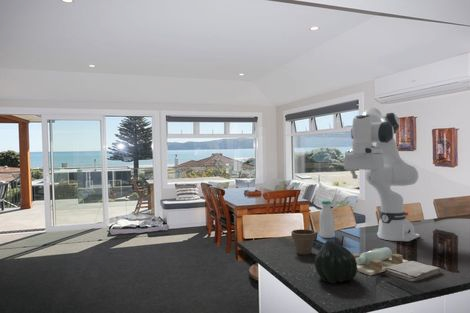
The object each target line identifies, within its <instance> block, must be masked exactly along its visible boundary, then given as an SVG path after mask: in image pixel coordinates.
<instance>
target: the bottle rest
mask: <svg viewBox="0 0 470 313" xmlns="http://www.w3.org/2000/svg"><path fill="white" fill-rule="evenodd" d="M376 249H378V248H377V247H374V248H371V249H370V251H372V250H376ZM352 254H353V256H354V258H355V260H356V258H358V257H360V255H361V253H360V254H359V253H357V252H355V253H352ZM403 256H404V255H403V254H399V253H392V255H391V259H388V260H384V261H380V260H376V259H375V260H371V264H370V265H364V264H363V263H362V264H357V272H359V273H362V274H365V275H369V276H373V275H376V274H379V273H382V272H387V270H386V268H387V267H390V266H394V265H397V264H401V263H405V262H409V260H407V259H404V257H403Z"/></svg>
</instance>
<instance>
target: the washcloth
mask: <svg viewBox="0 0 470 313" xmlns="http://www.w3.org/2000/svg"><path fill="white" fill-rule="evenodd" d="M408 261H409V260H408ZM386 270H387V271H385V273H386V274H389V275H391V276H394V277H396V278H399V279H402V280H406V281H408V282H417V281H421V280H423V279H427V278H429V277H432V276H435V275H439V274H440V273H441V268H440V267H438V266H434V265H429V264H424V263H422V262H419V261H415V260H410V261H409V262H405V263H401V264H397V265H394V266H390V267H387V268H386Z"/></svg>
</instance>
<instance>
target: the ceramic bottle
mask: <svg viewBox="0 0 470 313" xmlns="http://www.w3.org/2000/svg"><path fill="white" fill-rule="evenodd" d="M391 255H393V251H392V250H391V249H390V248H389V247H387V246H384V247H381V248H380V247H379V248H377V249H376V250H372V251H371V250H369V251H365V252H362V253H360V257H358V258H356V263H357V264H362V263H363V264H364V265H370V264H371V260H375V259H376V260H380V261H384V260H388V259H391Z"/></svg>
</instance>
